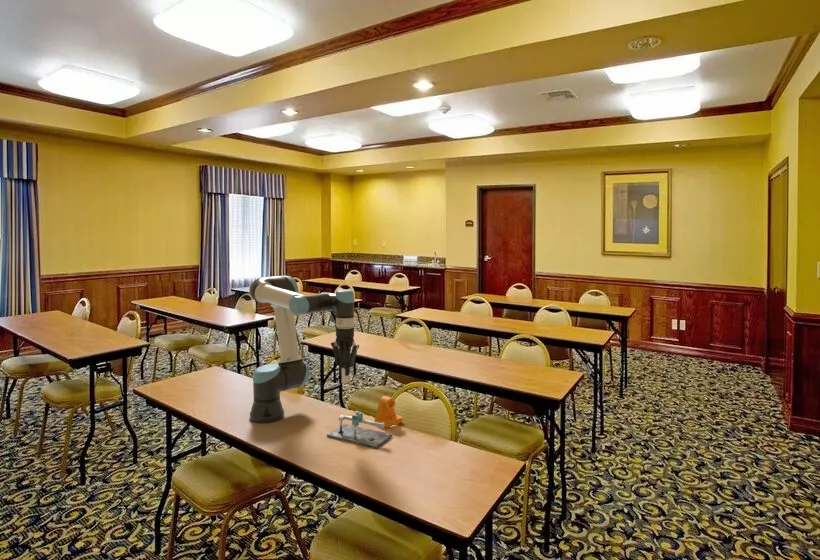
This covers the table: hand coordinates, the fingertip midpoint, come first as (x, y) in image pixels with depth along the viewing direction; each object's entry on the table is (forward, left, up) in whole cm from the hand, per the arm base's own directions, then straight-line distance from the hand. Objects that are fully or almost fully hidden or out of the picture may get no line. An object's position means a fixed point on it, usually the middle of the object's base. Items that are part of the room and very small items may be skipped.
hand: (344, 382), depth 200 cm
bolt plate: (+7, 0, -22) cm, 23 cm away
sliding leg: (+6, 0, -21) cm, 22 cm away
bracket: (+11, +18, -22) cm, 31 cm away
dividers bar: (+8, -1, -21) cm, 23 cm away
